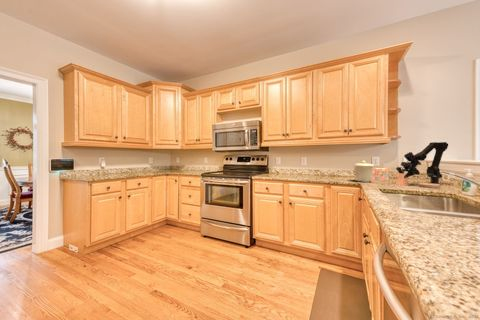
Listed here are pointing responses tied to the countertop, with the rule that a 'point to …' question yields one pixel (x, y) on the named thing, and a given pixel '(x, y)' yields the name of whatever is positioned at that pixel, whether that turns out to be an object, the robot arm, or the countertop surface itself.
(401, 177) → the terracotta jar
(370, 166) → the canister
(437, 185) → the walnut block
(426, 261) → the countertop surface
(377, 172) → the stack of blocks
